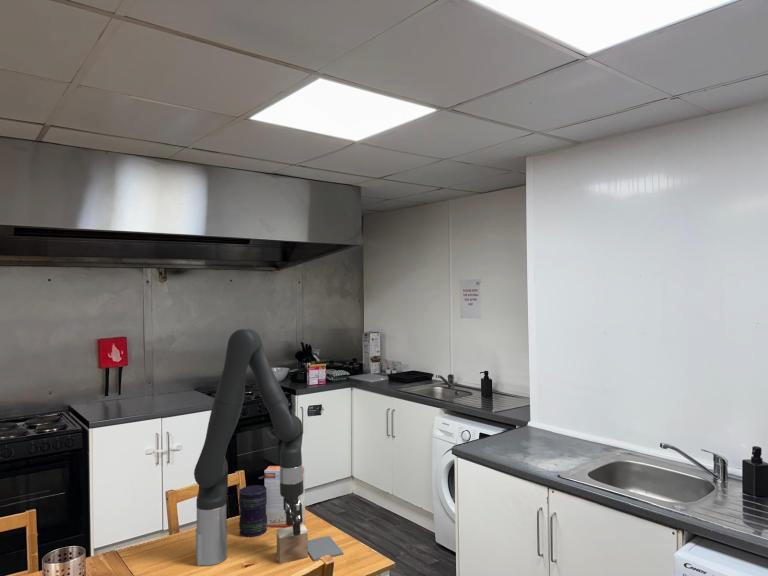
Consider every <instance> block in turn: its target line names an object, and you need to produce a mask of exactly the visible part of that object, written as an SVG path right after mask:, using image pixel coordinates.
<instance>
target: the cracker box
mask: <svg viewBox="0 0 768 576" xmlns="http://www.w3.org/2000/svg"><path fill="white" fill-rule="evenodd" d="M302 469H303V487H304V492H303V494H302V495H300V496H298V500H299V501H300V503H301V504H302V520H303V522H302V523H300V525H303V524H304V525H305V522H306V491H305V490H306V489H305V488H306V487H305V485H306V484H305V483H306V482H305V466H304V465H302ZM263 473H264V486H265V487H266V492H267V504H266V514H267V528H268V527H269V528H270V527H271V528H287V527H292V526H293V525H290V526H287V525H286V514H285V510H284V509H283V507H284V504H283V497H282V496H281V495H280V465H269V466H267V468H266V469H264V472H263ZM296 519H298V516H296Z"/></svg>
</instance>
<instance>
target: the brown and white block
mask: <svg viewBox="0 0 768 576" xmlns="http://www.w3.org/2000/svg"><path fill="white" fill-rule="evenodd" d="M308 535H309V534H308V528H307V527H306V525H305V523H304V524H303V525H300V535H297V536H294V535H293V526H292V527H281V528H277V529H276V560H277V561H278V562H279V564H280V565H282V564H286V563H290V562H295V561H299V560H304V559H308V558H309V554H308V540H309V539H308Z"/></svg>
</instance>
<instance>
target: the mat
mask: <svg viewBox="0 0 768 576" xmlns="http://www.w3.org/2000/svg"><path fill="white" fill-rule="evenodd" d="M325 555H330V556H331V557H330V558H333V557H338V556H342V555H344V551H342V549H341V548H340V546H339V545H338V544H337V543H336V542H335V540H333V538H332V537H331V535H327V536H322V537H318V538H313V539H308V556H310V558H311V560H312V561H313V562H316V561H320V560H319V559H320V558H321V557H322V556H325Z"/></svg>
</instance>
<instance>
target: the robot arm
mask: <svg viewBox="0 0 768 576" xmlns="http://www.w3.org/2000/svg"><path fill="white" fill-rule="evenodd" d="M223 365H224V366H223V369H222V374H221V376H220V379H219V382H218V385H217V390H216V393H215V395H214V399H213V403H212V407H211V411H210V415H209V420H208V423H207V424H208V425H207V427H206V429H207V430H206V434H205V440H204V443H203V445H202V449H201V452H200V453H199V457H198V459H197V461H196V464H195V467H194V470H193V475H194V476H193V477H194V480H195V482H196V484H197V485H198V491H197V497H196V504H195V505H196V528H195V559H196V564H197V566H198V567H200V566H208V567H209V566H213V565H217V564H220V563H222V562H224V561H225V560H226V559H228V558H227V557H228V547H227V546H228V544H227V543H228V542H227V541H228V538H227V537H228V532H227V531H228V530H227V523H228V522H227V515H228V514H227V499H228V498H227V496H228V490H229V488H228V487H229V482H228V481H229V465H228V461H227V459H226V454H227V450H228V446H229V444H230V442H231V441H230V440H231V439H232V436H233V434H234V432H235V430H236V427H237V425H238V422H239V420H240V416H241V413H242V410H243V406H244V405H243V404H244V403H245V402H244V401H245V395H246V394H245V392H246V391H245V389H246V386H245V385H246V372H247V371H248V370H247V369H248V366H249V367H250V370H251V371H252V372H251V373H252V374H253V378H254V379H255V380H254V381H255V383H256V387H257V390H258V393H259V395H260V398H261V399H262V401H263V404H264V407H266V409H267V412H269V413H268V414H269V417H270V421H271V423H272V426H273V430H274V432H275V434H276V435H277V437H278V438H279V439H280V440H281V441H282V444H281V449H280V450H279V466H280V495H281V496H282V497H283V504H284V507H283V509H284V510H285V514H286V525H287V526H290V525H293V535H294V536H297V535H300V523H302V522H303V520H302V504H301V503H300V501H299V500H298V496H300V495H302V494H303V492H304V487H303V469H302V466H303V459H302V455H303V454H302V444H303V433H304V428H303V422H302V420H301V418H299V417H298V416H296V415H294V414H292V415H291V411H290V410H289V407H290V403H289V400H288V398H287V397H286V395H285V393H284V391H283V389H282V387H281V385H280V382H279V381H278V379H277V377H276V376H275V373H274V372H273V369H272V367H271V365H270V362H269V360H268V357H267V354H266V351H265V349H264V345H263V342H262V339H261V336H260V335H259V333H258V332H256V331H255V330H254V329H250V328H242V329H241V328H240V329H237V330H235V331H234V332H232V334H231V335H230V336H229V337H228V341H227V345H226V353H225V358H224V364H223ZM296 516H298V519H296Z"/></svg>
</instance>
